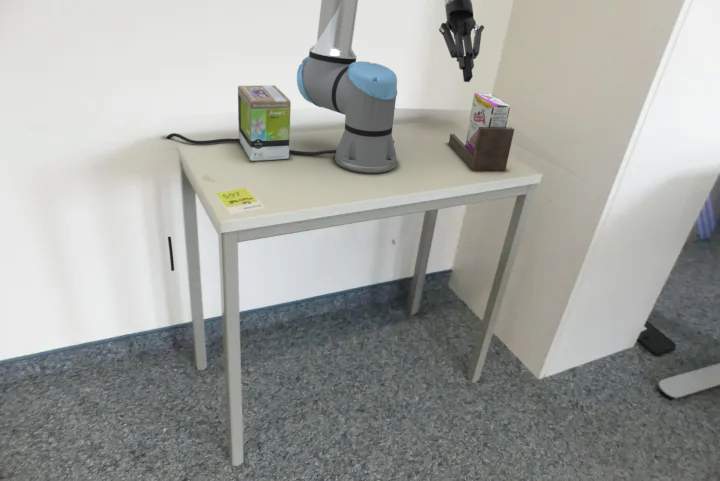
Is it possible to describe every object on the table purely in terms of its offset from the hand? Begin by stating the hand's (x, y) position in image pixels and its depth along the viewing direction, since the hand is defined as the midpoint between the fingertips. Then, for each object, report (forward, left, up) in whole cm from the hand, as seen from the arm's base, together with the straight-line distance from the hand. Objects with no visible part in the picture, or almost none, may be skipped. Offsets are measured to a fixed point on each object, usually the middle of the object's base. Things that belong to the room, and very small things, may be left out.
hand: (468, 79), depth 153 cm
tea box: (-56, -10, -17) cm, 59 cm away
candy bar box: (0, -16, -17) cm, 24 cm away
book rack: (0, -13, -17) cm, 22 cm away
